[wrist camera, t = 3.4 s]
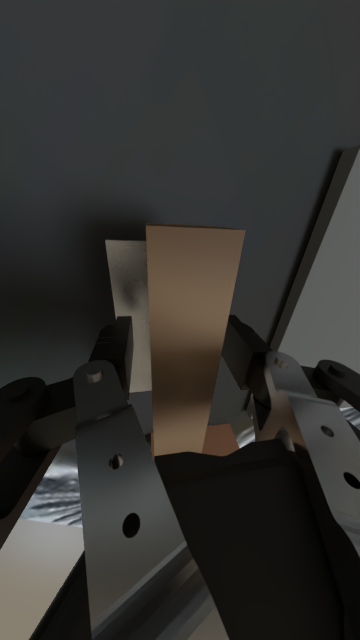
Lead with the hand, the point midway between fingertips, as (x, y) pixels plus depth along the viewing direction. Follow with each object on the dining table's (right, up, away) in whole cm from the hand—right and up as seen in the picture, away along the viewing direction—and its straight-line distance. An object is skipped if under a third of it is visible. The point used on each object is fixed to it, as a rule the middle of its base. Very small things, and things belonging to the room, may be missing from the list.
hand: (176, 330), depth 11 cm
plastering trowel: (-1, 0, +3) cm, 3 cm away
